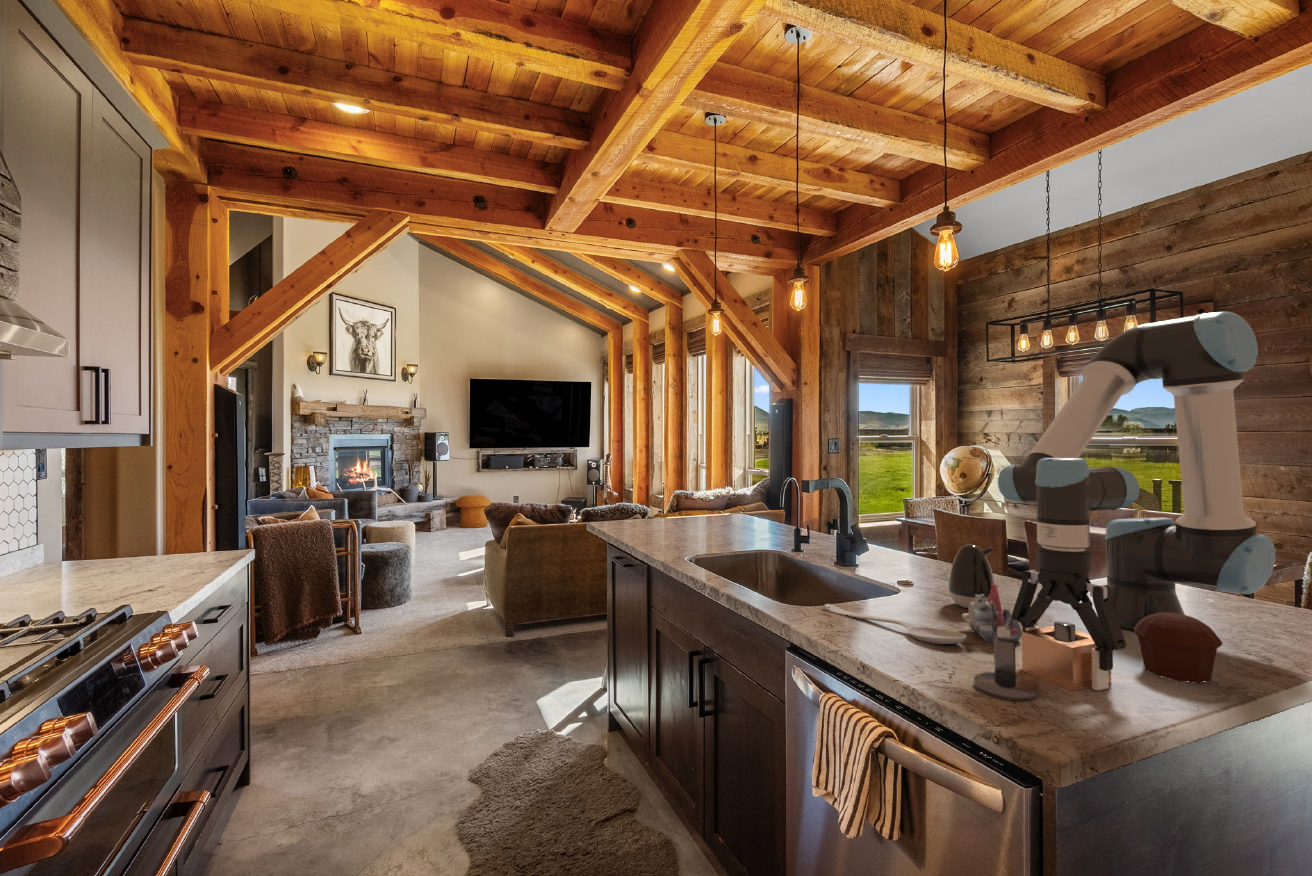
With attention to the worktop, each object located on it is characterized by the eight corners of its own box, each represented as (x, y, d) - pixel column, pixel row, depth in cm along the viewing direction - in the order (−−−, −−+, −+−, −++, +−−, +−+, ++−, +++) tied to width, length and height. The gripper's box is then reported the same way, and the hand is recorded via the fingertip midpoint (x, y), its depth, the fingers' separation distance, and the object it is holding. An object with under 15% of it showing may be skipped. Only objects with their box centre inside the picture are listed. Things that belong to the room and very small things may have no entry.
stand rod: (1063, 671, 104) (1062, 620, 104) (1080, 678, 101) (1079, 625, 101) (1051, 674, 103) (1049, 622, 103) (1068, 681, 100) (1067, 627, 100)
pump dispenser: (1006, 612, 140) (1004, 547, 140) (961, 612, 140) (960, 548, 140) (982, 600, 150) (981, 540, 150) (941, 601, 150) (940, 541, 150)
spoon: (976, 646, 118) (975, 632, 118) (953, 653, 114) (953, 639, 114) (837, 612, 147) (836, 601, 148) (814, 617, 143) (814, 606, 143)
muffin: (1118, 663, 107) (1116, 608, 107) (1165, 657, 110) (1164, 603, 110) (1190, 690, 96) (1189, 628, 96) (1241, 683, 98) (1240, 622, 98)
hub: (1001, 675, 103) (1000, 617, 103) (1051, 695, 95) (1050, 632, 95) (961, 683, 100) (960, 623, 100) (1009, 705, 91) (1008, 640, 92)
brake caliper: (1042, 636, 116) (999, 585, 118) (992, 666, 118) (951, 616, 120) (1022, 619, 126) (983, 573, 128) (977, 647, 129) (940, 601, 131)
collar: (1058, 663, 108) (1057, 625, 108) (1111, 682, 99) (1110, 640, 99) (1022, 670, 105) (1021, 631, 105) (1073, 690, 96) (1072, 647, 96)
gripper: (988, 538, 112) (989, 655, 112) (1121, 561, 90) (1123, 706, 90) (1017, 536, 114) (1019, 650, 114) (1153, 557, 92) (1156, 699, 92)
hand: (1065, 675), depth 102 cm, fingers open, 11 cm apart
